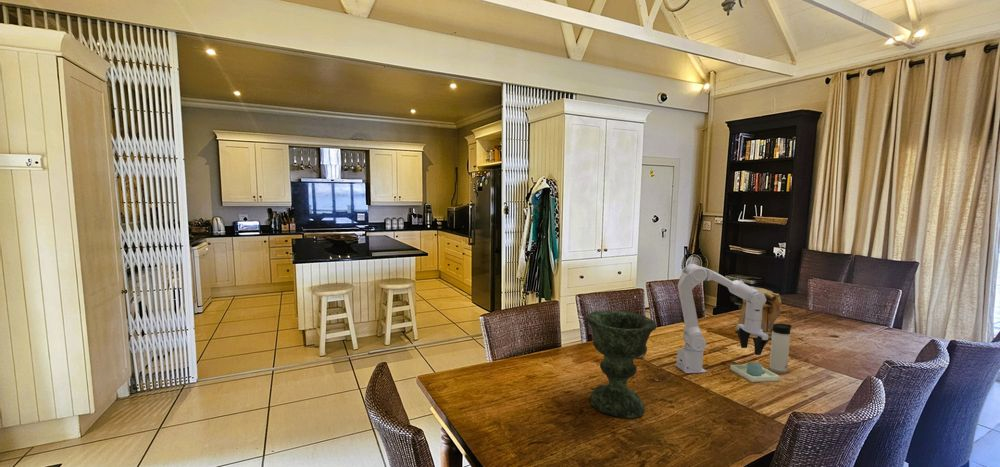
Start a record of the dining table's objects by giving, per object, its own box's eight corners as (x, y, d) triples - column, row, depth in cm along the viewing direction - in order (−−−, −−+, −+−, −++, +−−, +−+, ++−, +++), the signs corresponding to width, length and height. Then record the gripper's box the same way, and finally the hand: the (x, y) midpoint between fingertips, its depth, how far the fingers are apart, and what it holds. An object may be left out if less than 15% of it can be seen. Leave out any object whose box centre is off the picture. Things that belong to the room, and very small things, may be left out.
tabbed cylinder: (753, 377, 162) (754, 367, 162) (743, 371, 167) (744, 362, 167) (768, 376, 163) (769, 366, 163) (758, 370, 168) (758, 361, 168)
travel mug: (791, 374, 166) (795, 327, 165) (773, 372, 168) (776, 325, 166) (783, 368, 173) (787, 322, 171) (766, 366, 174) (770, 321, 172)
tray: (751, 382, 158) (752, 377, 158) (730, 369, 170) (730, 365, 170) (779, 381, 160) (779, 376, 160) (755, 368, 172) (756, 363, 172)
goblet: (604, 426, 125) (608, 331, 123) (572, 392, 147) (575, 311, 144) (665, 417, 131) (670, 327, 128) (626, 386, 153) (629, 308, 150)
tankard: (752, 327, 229) (756, 284, 227) (793, 342, 207) (797, 293, 205) (727, 330, 224) (730, 285, 222) (765, 344, 202) (769, 295, 200)
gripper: (776, 324, 159) (773, 357, 160) (748, 313, 173) (746, 344, 174) (760, 324, 158) (757, 358, 159) (733, 313, 172) (731, 345, 173)
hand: (750, 351), depth 166 cm, fingers open, 7 cm apart
